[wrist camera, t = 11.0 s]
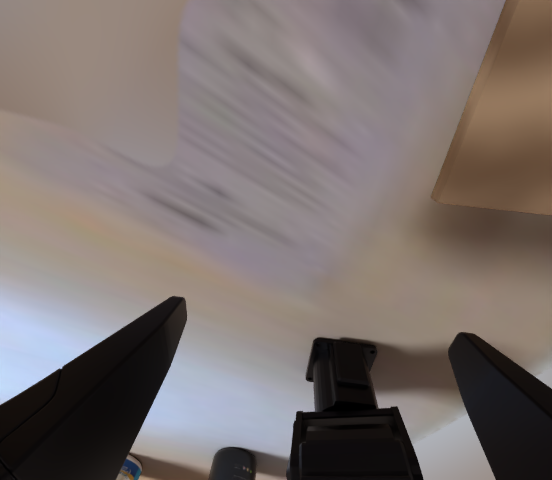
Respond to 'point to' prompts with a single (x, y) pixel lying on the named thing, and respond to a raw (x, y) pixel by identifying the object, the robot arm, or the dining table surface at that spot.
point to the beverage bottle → (130, 469)
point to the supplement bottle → (233, 465)
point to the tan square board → (507, 120)
